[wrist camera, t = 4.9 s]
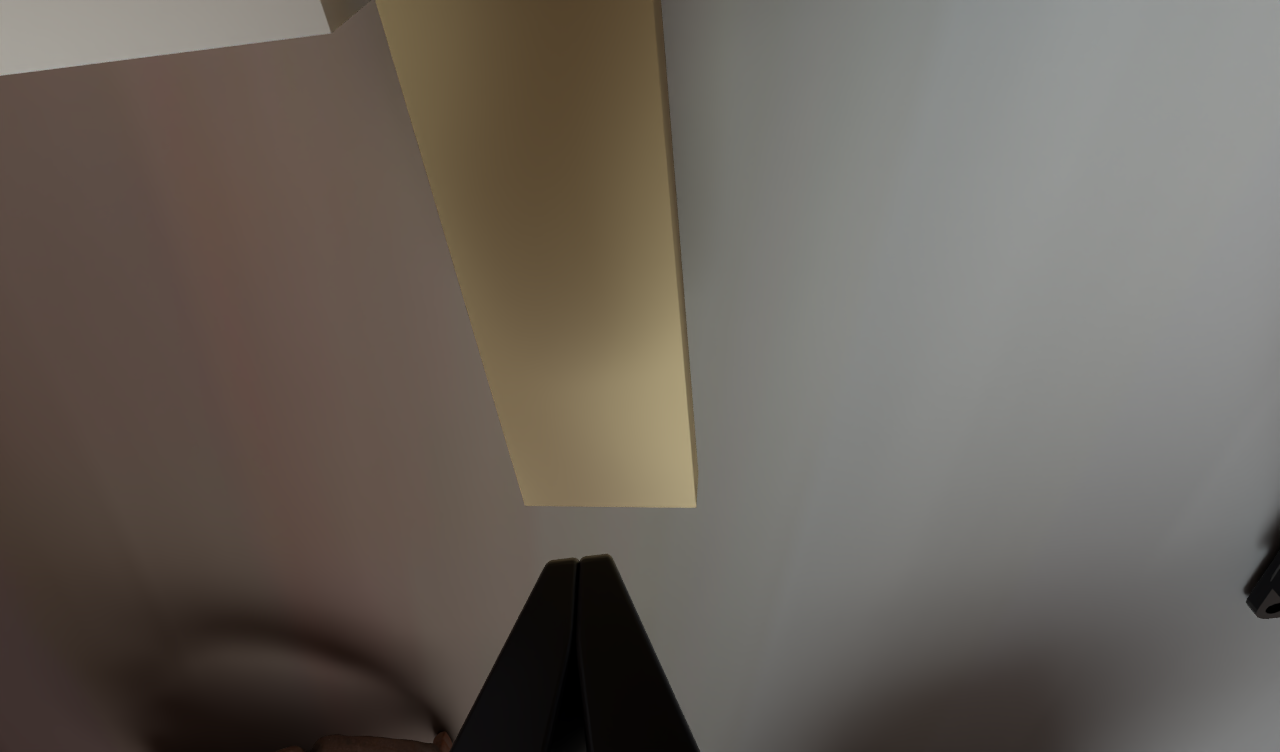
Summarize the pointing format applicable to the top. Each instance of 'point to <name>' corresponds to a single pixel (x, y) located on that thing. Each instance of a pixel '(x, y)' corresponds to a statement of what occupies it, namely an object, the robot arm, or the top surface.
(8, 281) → the top surface
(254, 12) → the dish
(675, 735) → the robot arm
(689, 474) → the tan flat board
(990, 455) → the top surface
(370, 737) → the pottery mug
